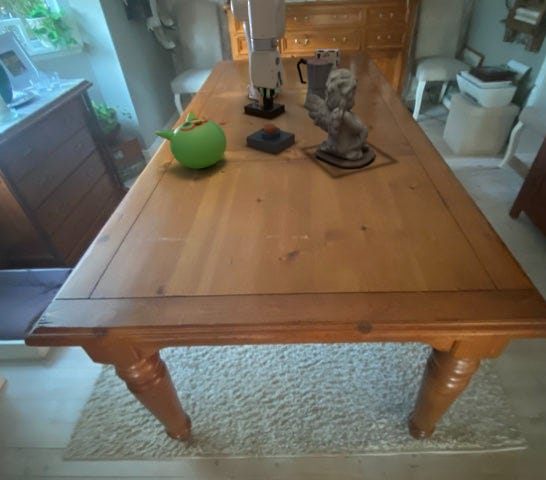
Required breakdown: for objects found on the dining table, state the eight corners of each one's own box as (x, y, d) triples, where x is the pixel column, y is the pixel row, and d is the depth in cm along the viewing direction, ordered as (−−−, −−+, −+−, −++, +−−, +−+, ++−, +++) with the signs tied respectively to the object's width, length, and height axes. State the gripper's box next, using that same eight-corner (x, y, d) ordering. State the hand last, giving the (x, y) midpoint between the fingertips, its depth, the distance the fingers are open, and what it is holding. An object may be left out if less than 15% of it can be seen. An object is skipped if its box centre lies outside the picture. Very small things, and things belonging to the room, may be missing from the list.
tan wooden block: (256, 105, 144) (255, 91, 140) (263, 102, 147) (262, 88, 143) (265, 107, 142) (263, 92, 138) (271, 104, 145) (270, 89, 141)
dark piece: (247, 146, 122) (245, 131, 119) (266, 135, 129) (265, 121, 125) (276, 154, 116) (275, 139, 113) (294, 142, 123) (294, 128, 119)
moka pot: (330, 110, 145) (333, 56, 132) (294, 109, 148) (293, 56, 134) (333, 103, 152) (336, 50, 139) (298, 102, 155) (298, 50, 141)
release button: (262, 132, 119) (261, 127, 118) (269, 128, 121) (268, 123, 120) (271, 134, 117) (270, 129, 116) (278, 130, 120) (277, 125, 118)
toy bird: (202, 182, 104) (191, 133, 94) (163, 169, 111) (149, 123, 101) (239, 158, 115) (233, 112, 105) (201, 148, 122) (192, 104, 112)
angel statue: (333, 177, 103) (339, 86, 86) (302, 149, 118) (301, 67, 101) (395, 161, 109) (411, 73, 92) (357, 137, 124) (365, 57, 107)
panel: (244, 113, 147) (243, 105, 145) (259, 106, 153) (258, 99, 150) (270, 119, 140) (270, 111, 138) (285, 112, 146) (284, 104, 144)
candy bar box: (339, 87, 169) (341, 48, 157) (336, 90, 165) (338, 50, 154) (317, 86, 172) (317, 47, 161) (313, 88, 169) (314, 49, 157)
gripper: (292, 44, 101) (293, 110, 113) (253, 40, 108) (258, 103, 120) (276, 49, 96) (279, 117, 109) (236, 45, 103) (244, 109, 115)
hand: (268, 109), depth 114 cm, fingers closed
